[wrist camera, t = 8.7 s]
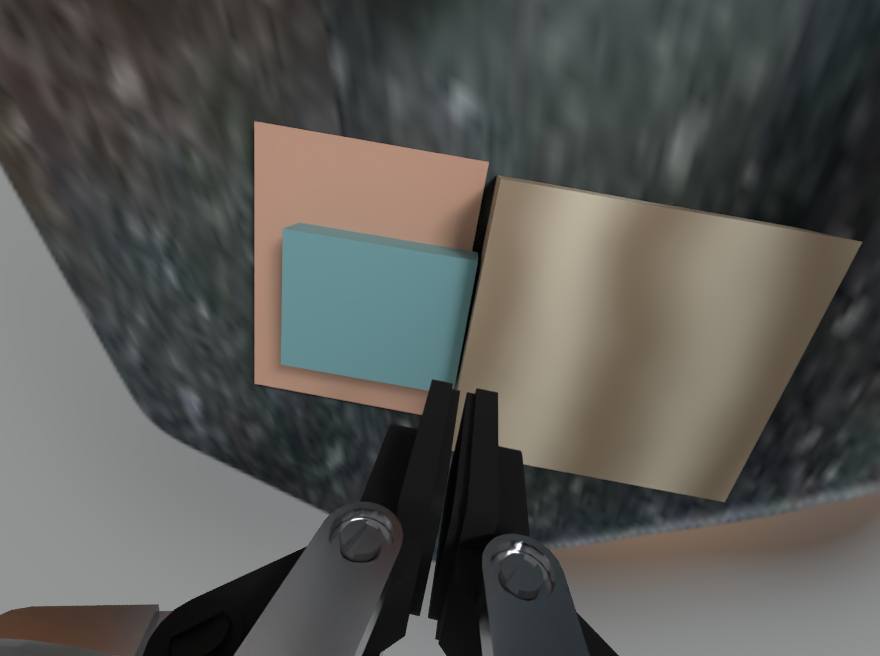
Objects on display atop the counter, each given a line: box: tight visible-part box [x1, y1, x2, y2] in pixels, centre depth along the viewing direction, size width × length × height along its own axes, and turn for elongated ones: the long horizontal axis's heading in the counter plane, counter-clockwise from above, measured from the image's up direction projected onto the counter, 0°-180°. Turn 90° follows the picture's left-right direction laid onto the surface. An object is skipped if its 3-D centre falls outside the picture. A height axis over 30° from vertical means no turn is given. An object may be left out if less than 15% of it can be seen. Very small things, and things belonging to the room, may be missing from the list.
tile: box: [281, 223, 478, 391], centre depth 22 cm, size 9×7×2 cm
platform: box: [452, 175, 862, 502], centre depth 21 cm, size 14×13×4 cm
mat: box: [254, 121, 489, 415], centre depth 23 cm, size 11×14×1 cm
